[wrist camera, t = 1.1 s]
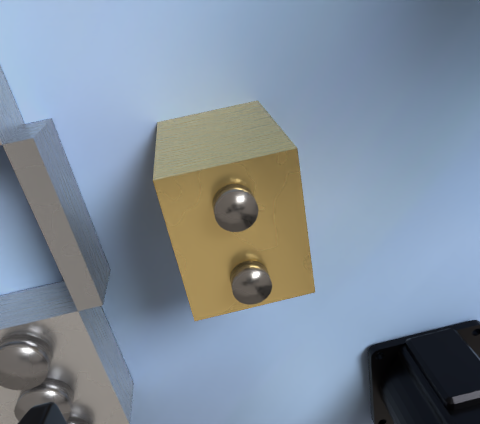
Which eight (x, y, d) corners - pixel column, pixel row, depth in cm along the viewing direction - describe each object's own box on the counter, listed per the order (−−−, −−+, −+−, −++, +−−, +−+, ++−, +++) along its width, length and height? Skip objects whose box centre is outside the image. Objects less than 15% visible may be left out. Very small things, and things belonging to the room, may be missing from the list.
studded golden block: (275, 211, 20) (321, 303, 14) (187, 231, 19) (195, 334, 14) (257, 100, 17) (303, 155, 11) (157, 122, 17) (152, 189, 11)
